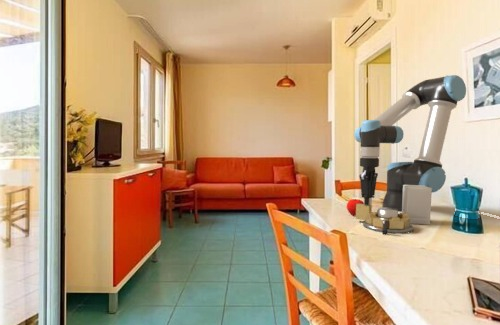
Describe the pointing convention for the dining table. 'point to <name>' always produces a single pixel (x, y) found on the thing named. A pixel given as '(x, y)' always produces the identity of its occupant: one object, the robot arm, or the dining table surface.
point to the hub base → (387, 214)
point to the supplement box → (417, 203)
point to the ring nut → (372, 218)
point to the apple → (353, 206)
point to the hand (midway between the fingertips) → (367, 212)
